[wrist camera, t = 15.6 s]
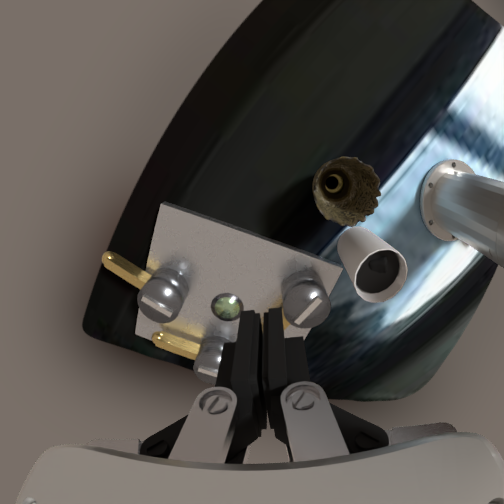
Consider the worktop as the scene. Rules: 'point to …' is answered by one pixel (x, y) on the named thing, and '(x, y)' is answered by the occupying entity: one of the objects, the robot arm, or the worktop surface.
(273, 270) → the plate
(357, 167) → the cup
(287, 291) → the knob
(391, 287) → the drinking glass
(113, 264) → the knob
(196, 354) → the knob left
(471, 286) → the worktop surface
